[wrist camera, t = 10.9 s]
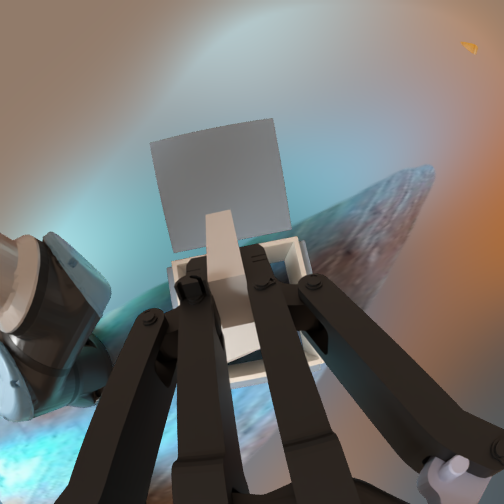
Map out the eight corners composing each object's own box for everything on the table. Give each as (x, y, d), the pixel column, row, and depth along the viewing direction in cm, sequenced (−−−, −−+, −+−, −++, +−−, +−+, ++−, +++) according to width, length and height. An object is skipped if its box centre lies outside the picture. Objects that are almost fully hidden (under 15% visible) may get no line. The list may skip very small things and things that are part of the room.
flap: (291, 229, 36) (272, 118, 32) (173, 253, 36) (149, 142, 32) (290, 227, 37) (271, 119, 33) (175, 250, 37) (151, 143, 33)
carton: (314, 356, 45) (333, 367, 33) (205, 378, 44) (189, 395, 32) (292, 255, 49) (304, 234, 37) (185, 276, 48) (164, 262, 36)
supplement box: (262, 278, 48) (266, 259, 33) (286, 328, 46) (300, 331, 31) (211, 300, 47) (192, 292, 32) (234, 351, 45) (225, 365, 31)
